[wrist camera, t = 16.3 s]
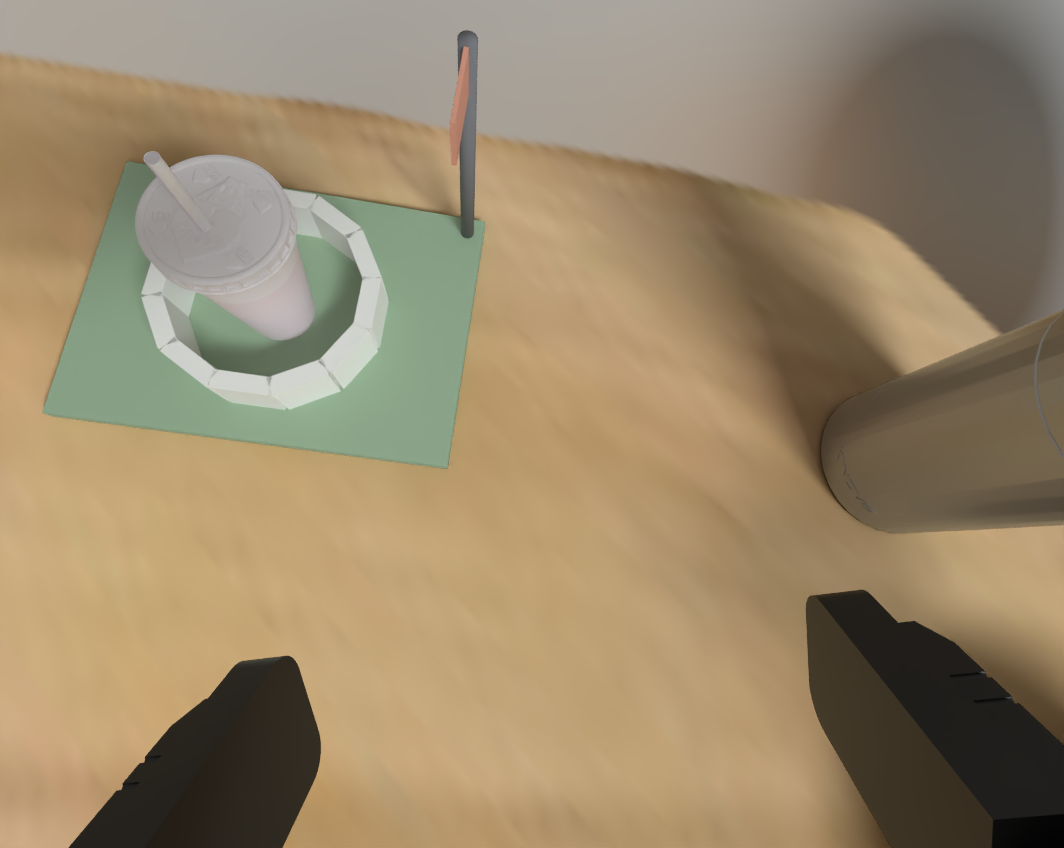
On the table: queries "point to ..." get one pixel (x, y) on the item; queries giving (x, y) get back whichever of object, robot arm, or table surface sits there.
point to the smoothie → (227, 240)
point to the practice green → (310, 359)
